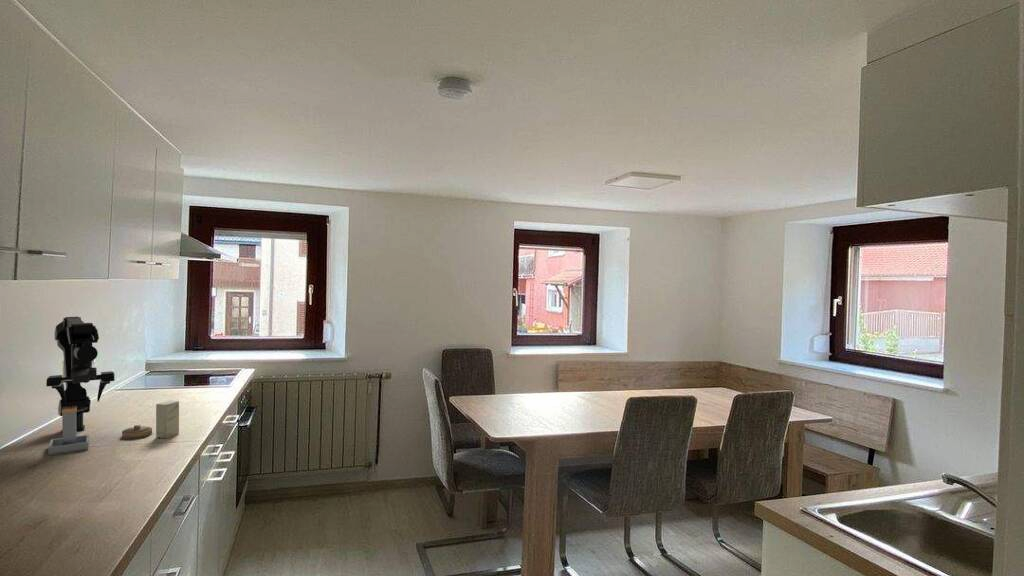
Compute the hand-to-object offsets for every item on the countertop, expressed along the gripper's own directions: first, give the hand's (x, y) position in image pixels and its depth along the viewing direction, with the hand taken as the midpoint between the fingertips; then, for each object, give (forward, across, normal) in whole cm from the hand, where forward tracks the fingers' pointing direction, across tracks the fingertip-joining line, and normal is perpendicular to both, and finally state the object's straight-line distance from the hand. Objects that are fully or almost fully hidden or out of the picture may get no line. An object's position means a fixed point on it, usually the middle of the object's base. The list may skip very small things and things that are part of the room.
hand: (81, 402), depth 195 cm
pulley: (+13, +16, -4) cm, 21 cm away
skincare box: (+13, +25, -10) cm, 30 cm away
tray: (+13, -3, -10) cm, 16 cm away
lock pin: (+12, -3, -10) cm, 16 cm away
